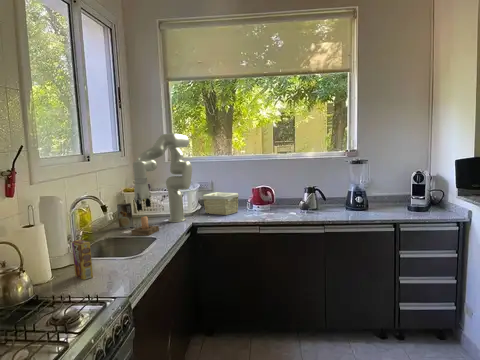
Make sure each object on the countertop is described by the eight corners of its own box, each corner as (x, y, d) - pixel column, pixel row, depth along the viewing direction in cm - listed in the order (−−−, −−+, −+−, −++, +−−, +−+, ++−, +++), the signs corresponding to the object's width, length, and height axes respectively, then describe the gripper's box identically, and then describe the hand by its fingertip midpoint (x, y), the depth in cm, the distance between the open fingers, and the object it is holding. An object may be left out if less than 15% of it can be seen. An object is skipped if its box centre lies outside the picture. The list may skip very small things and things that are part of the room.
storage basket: (203, 213, 284) (201, 194, 282) (217, 209, 296) (216, 191, 294) (226, 216, 268) (224, 196, 267) (240, 212, 280) (239, 192, 279)
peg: (144, 232, 234) (143, 216, 233) (150, 232, 232) (148, 216, 231) (141, 233, 230) (139, 217, 229) (146, 233, 229) (145, 217, 228)
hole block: (142, 230, 239) (142, 225, 238) (159, 230, 235) (158, 226, 235) (131, 235, 227) (131, 230, 227) (148, 235, 224) (148, 230, 223)
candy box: (94, 277, 156) (90, 241, 154) (84, 280, 153) (80, 244, 151) (84, 273, 162) (81, 238, 160) (74, 276, 159) (70, 241, 157)
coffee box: (133, 225, 255) (131, 202, 253) (133, 227, 249) (131, 204, 247) (119, 227, 252) (117, 204, 251) (119, 229, 246) (116, 205, 245)
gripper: (143, 179, 237) (146, 205, 239) (127, 183, 221) (130, 211, 223) (153, 178, 235) (156, 205, 237) (138, 183, 219) (141, 211, 221)
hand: (144, 208), depth 230 cm, fingers open, 9 cm apart
